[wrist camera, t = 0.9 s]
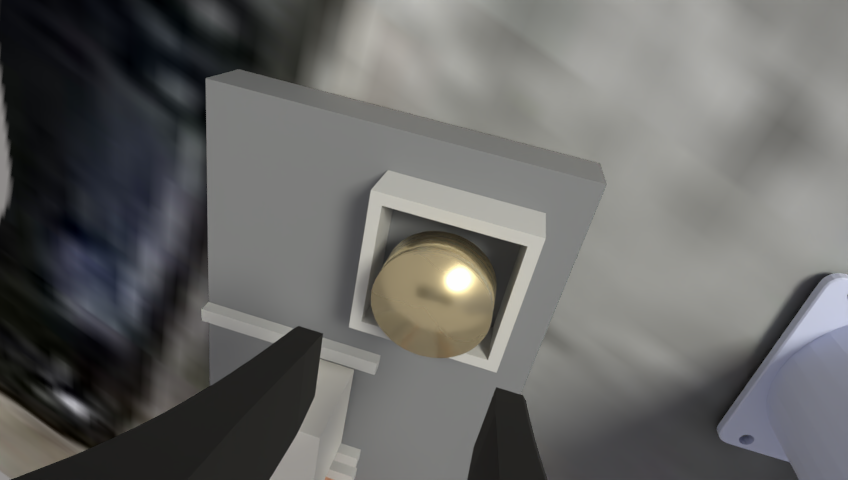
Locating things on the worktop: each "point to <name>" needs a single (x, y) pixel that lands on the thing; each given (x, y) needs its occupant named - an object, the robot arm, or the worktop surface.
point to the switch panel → (380, 255)
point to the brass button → (435, 295)
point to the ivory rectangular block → (319, 427)
